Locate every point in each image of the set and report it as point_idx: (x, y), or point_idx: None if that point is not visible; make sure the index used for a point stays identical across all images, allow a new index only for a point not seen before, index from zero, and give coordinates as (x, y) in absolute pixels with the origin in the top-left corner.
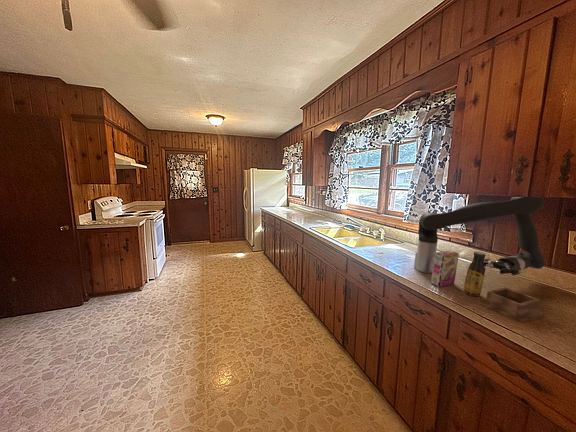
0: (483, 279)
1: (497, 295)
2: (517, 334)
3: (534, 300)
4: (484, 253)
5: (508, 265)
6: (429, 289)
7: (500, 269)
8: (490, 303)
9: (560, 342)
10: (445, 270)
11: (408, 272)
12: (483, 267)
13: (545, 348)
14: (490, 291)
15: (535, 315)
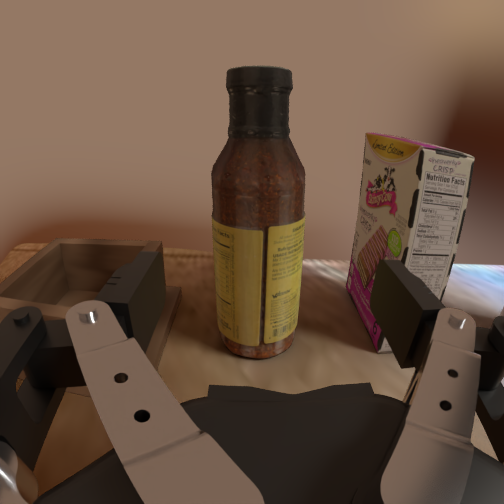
0: (213, 245)
1: (125, 241)
2: None
3: (5, 283)
4: (242, 66)
5: (93, 388)
6: (333, 263)
7: (161, 254)
8: None
9: (5, 274)
10: (364, 220)
11: (480, 291)
12: (218, 158)
13: (38, 248)
14: (154, 247)
15: None
